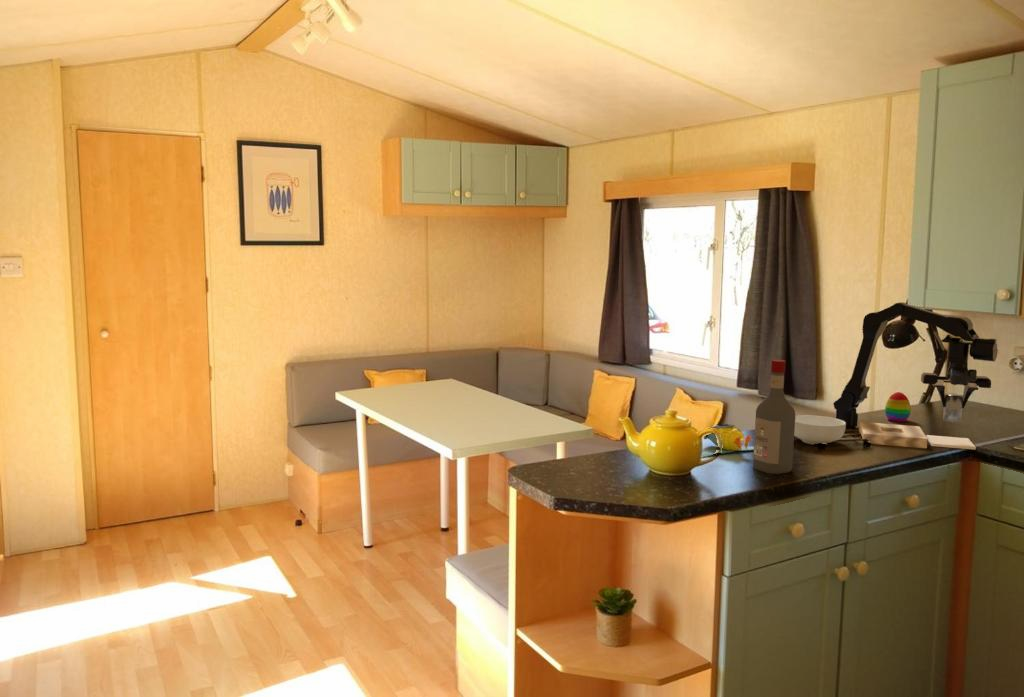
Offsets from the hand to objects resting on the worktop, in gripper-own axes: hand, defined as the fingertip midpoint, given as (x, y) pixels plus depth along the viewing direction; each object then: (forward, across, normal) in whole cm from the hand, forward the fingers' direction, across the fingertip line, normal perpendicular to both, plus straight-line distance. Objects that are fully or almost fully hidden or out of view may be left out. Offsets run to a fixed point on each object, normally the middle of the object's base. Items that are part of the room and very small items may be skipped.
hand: (952, 407), depth 265 cm
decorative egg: (+12, -12, +31) cm, 35 cm away
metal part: (+4, 0, 0) cm, 4 cm away
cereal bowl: (+12, -40, -14) cm, 44 cm away
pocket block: (+11, -17, -1) cm, 20 cm away
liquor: (+12, -52, -52) cm, 74 cm away
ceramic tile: (+11, 0, 0) cm, 11 cm away
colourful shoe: (+12, -65, -35) cm, 75 cm away
